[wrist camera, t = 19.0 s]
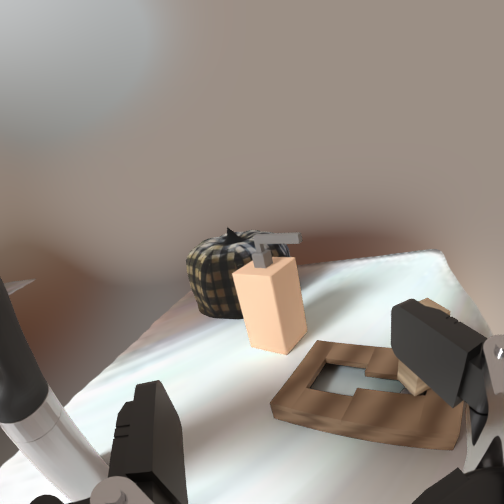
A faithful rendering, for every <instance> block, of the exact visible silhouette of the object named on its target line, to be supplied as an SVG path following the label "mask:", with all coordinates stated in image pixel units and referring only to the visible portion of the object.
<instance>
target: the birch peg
mask: <svg viewBox="0 0 504 504" xmlns="http://www.w3.org/2000/svg"><path fill="white" fill-rule="evenodd" d="M419 302H420V303H421V304H423V305H425V306H429V307H432V308H436V309H440V310H442V311H443V312H445V313H447V314H448V315H450V311H449V310H447V309H446V308H444V307H442V306H441V305H439V304H437V303H436V302H434V301H432V300H430V299H429V298H426V299H423V300H421V301H419ZM397 379H398V380H399V381H400V382H401V383H402V384H403V385H404V386H405V387H406V388H404V389H403V390H402V391H401V392H400V393H402V394H413V395H414V396H417V395H425V396H426V393H427V389H429V388H430V387H429V386H428V385H427V384H426V383H424V382H423V381H422V380H421V379H420V378H419V377H418V376H417V375H416V374H415V373H413V372H412V371H411V370H410V369H409V368H408V367H407V366H406V365H405V364H403V363H402V362H401V361H400V360H399V362H398V375H397Z"/></svg>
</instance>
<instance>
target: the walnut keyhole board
mask: <svg viewBox="0 0 504 504" xmlns="http://www.w3.org/2000/svg"><path fill="white" fill-rule="evenodd" d="M398 362H399V359H398V358H397V357H396V356H395V354H394V352H393V350H392V348H385V347H373V346H363V345H353V344H344V343H335V342H327V341H319V340H317V341H316V342H315V344H314V345H313V347H312V348H311V349H310V351H309V352H308V354H307V355H306V356H305V358H304V359H303V360H302V362H301V363H300V364H299V366H298V367H297V368H296V370H295V371H294V372H293V374H292V375H291V376H290V378H289V379H288V380H287V382H286V383H285V384H284V385H283V387H282V388H281V389H280V391H279V392H278V393H277V394H276V396H275V397H274V398H273V399H272V401H271V402H270V405H271V409H272V413H273V416H274V418H275V419H278V420H282V421H285V422H289V423H292V424H296V425H300V426H303V427H307V428H311V429H315V430H319V431H323V432H328V433H332V434H337V435H341V436H346V437H351V438H356V439H361V440H367V441H373V442H379V443H385V444H392V445H400V446H408V447H417V448H427V449H439V450H453V448H454V446H455V444H456V441H457V439H458V437H459V434H460V427H461V419H462V411H463V402H464V401H462V402H461V403H460V404H458V405H457V406H455V407H454V408H452V407H451V406H450V405H448V404H447V403H446V402H445V401H444V400H443V399H442V398H441V397H440V396H439V395H438V394H436V393H435V392H434V391H433V390H432V389H431V388H429V389H427V393H426V396H425V395H417V396H414V395H413V394H402V393H393V392H384V391H376V390H369V389H362V388H357V390H356V392H355V394H354V396H353V397H352V396H346V395H340V394H335V393H329V392H324V391H319V390H314V389H309V388H310V387H311V385H312V384H313V382H314V381H315V379H316V377H317V376H318V374H319V373H320V371H321V370H322V368H323V367H324V365H325V363H330V364H337V365H344V366H351V367H359V368H366V370H365V376H367V377H375V378H383V379H393V380H398V379H397V375H398Z"/></svg>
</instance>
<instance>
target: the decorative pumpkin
mask: <svg viewBox="0 0 504 504" xmlns="http://www.w3.org/2000/svg"><path fill="white" fill-rule="evenodd" d="M256 234H273V233H271V232H260V231H258V230H249V231H246V232H233V231H232V230H230V229H229V228H227V233H226V234H224V235H222V236H220V237H215V238H210V239H207V240H204V241H202V242H201V243H200V244H199V245H198V246H196V247H195V248H194V249H193V250H191V251H190V253H189V255H188V257H187V260H186V265H187V272H188V277H189V281H190V285H191V289H192V291H193V293H194V296H195V299H196V301H197V303H198V308H199V311H200V312H201V313H202V314H204V315H206V316H209V317H213V318H223V319H244V318H243V314H242V310H241V306H240V302H239V299H238V295H237V291H236V287H235V283H234V279H233V275H232V273H234V272H235V271H237V270H238V269H240V268H242V267H243V266H245V265H246V264H248V263H249V262H251V261H253V259H252V254H253V253H255V252H256V248H255V243H254V239H253V236H254V235H256ZM264 248H265V250H271V255H272V257H290V253H289V249H288V247H287V245H286V244H264Z"/></svg>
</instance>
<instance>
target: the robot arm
mask: <svg viewBox="0 0 504 504" xmlns="http://www.w3.org/2000/svg"><path fill="white" fill-rule="evenodd" d="M391 347H392V350H393V352H394V354H395V356H396V357H397V358H398V359H399V360H400V361H401V362H402V363H403V364H405V365H406V366H407V367H408V368H409V369H410V370H411V371H412V372H413V373H415V374H416V375H417V376H418V377H419V378H420V379H421V380H422V381H423V382H424V383H426V384H427V385H428V386H429V387H430V388H431V389H432V390H433V391H434V392H435V393H436V394H438V395H439V396H440V397H441V398H442V399H443V400H444V401H445V402H446V403H447V404H448V405H450V406H451V407H452V408H454V407H455V406H457V405H458V404H460V403H461V402H462V401H465V402H466V403H467V404H466V408H465V415H466V429H467V458H466V462H465V465H464V469H463V472H462V471H461V470H460V469H459V468H456V469H455V470H454V471H452V472H451V473H450V474H448V475H447V476H446V477H444V478H443V479H441V480H440V481H438V482H437V483H435V484H434V485H432V486H431V487H429V488H428V489H426V490H425V491H424V492H423V493H422V494H421V495H420V496H419V497H418V498H417V499H416V500H415V501H414V502H413V503H412V504H504V335H495V336H492V337H490V338H488V339H487V338H486V337H484V336H483V335H481V334H479V333H478V332H476V331H475V330H473V329H471V328H470V327H468V326H466V325H465V324H463V323H462V322H458V320H457V319H455V318H453V317H450V315H448V314H447V313H445V312H443V311H442V310H440V309H436V308H432V307H429V306H425V305H423V304H421V303H420V302H418V301H416V300H415V299H409V300H407V301H404V302H402V303H400V304H398V305H395V306H394V307H393V308H392V311H391ZM0 426H1V428H2V429H3V430H4V431H5V432H6V434H7V435H8V436H9V438H10V439H11V440H12V441H13V442H14V444H15V445H16V446H17V447H18V448H19V449H20V451H21V452H22V453H23V454H24V455H25V456H26V457H27V458H28V459H29V461H30V462H31V463H32V464H33V465H34V466H35V467H36V468H37V469H38V470H39V471H40V472H41V473H42V474H43V475H44V476H45V477H46V478H47V479H48V480H49V481H50V482H51V483H52V484H53V485H54V486H55V487H56V488H57V489H58V490H60V491H61V492H62V493H63V494H64V495H65V496H66V497H67V498H69V499H70V500H71V501H72V503H68V504H188V498H187V488H186V477H185V466H184V453H183V438H182V427H181V422H180V419H179V416H178V414H177V412H176V410H175V408H174V406H173V404H172V402H171V400H170V398H169V396H168V394H167V392H166V390H165V388H164V386H163V385H162V383H161V382H160V381H159V380H157V381H152V382H147V383H142V384H137V385H136V388H135V394H134V400H133V401H130V402H126V403H125V404H124V406H123V407H122V409H121V410H120V412H119V413H118V416H117V422H116V429H115V433H114V438H115V439H113V445H112V451H111V458H110V464H109V466H108V465H107V463H106V462H105V461H104V460H103V459H102V458H101V456H100V455H99V454H98V453H97V452H96V450H95V449H94V448H93V447H92V446H91V444H90V443H89V442H88V441H87V439H86V438H85V437H84V435H83V434H82V433H81V431H80V430H79V429H78V427H77V426H76V425H75V423H74V422H73V421H72V419H71V418H70V416H69V415H68V414H67V412H66V411H65V409H64V408H63V406H62V405H61V403H60V402H59V401H58V399H57V398H56V396H55V394H54V393H53V391H52V390H51V388H50V386H49V385H48V383H47V381H46V380H45V378H44V377H43V375H42V373H41V371H40V368H39V367H38V364H37V362H36V359H35V357H34V355H33V353H32V351H31V349H30V347H29V345H28V343H27V341H26V339H25V337H24V334H23V332H22V330H21V327H20V325H19V322H18V320H17V317H16V315H15V312H14V309H13V307H12V304H11V301H10V298H9V296H8V293H7V291H6V288H5V286H4V283H3V281H2V279H1V278H0ZM30 504H64V503H63V502H62V501H60V500H59V499H58V498H57V497H55V496H52V495H42V496H39V497H37V498H35V499H34V500H33V501H32V502H31V503H30Z"/></svg>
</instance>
